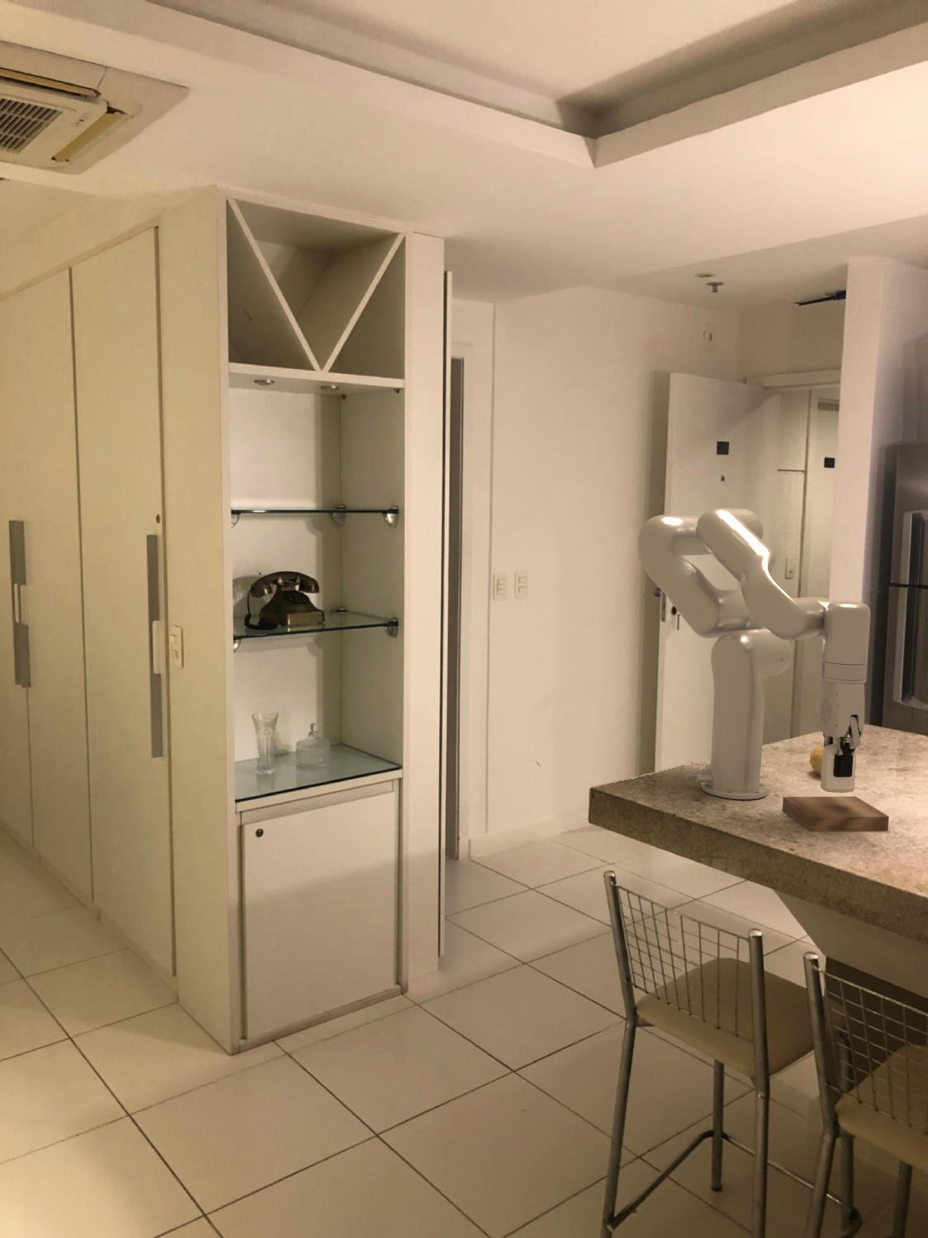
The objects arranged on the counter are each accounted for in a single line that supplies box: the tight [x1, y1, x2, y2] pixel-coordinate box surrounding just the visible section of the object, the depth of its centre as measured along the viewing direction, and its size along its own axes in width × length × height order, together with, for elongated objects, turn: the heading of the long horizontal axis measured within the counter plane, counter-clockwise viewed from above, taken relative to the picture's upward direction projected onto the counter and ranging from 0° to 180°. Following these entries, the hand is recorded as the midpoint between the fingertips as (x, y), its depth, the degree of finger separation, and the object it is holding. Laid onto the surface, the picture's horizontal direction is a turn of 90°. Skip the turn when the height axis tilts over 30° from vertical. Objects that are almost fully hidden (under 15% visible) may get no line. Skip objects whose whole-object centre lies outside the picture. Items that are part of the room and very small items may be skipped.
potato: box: [809, 745, 824, 776], centre depth 214 cm, size 7×11×6 cm, turn 157°
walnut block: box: [781, 795, 890, 832], centre depth 183 cm, size 14×12×3 cm
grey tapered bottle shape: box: [820, 734, 857, 794], centre depth 182 cm, size 4×6×12 cm
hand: (837, 772), depth 182 cm, fingers closed on grey tapered bottle shape, 3 cm apart
